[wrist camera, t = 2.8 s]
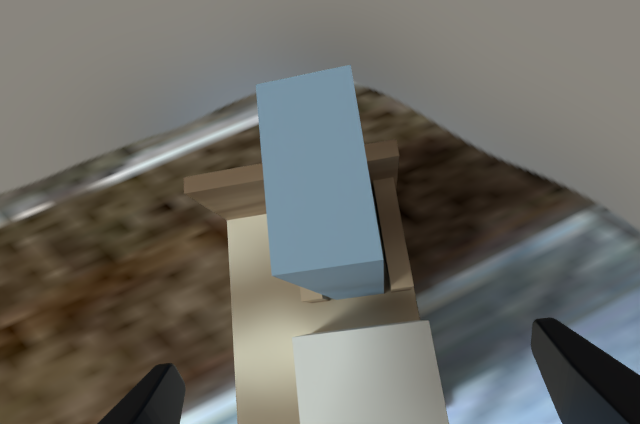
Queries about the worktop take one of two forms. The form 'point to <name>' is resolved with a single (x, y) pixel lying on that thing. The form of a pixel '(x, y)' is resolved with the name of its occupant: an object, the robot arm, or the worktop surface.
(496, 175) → the worktop surface
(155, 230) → the worktop surface
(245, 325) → the stand
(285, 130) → the blue rectangular block
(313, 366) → the upper offcut
